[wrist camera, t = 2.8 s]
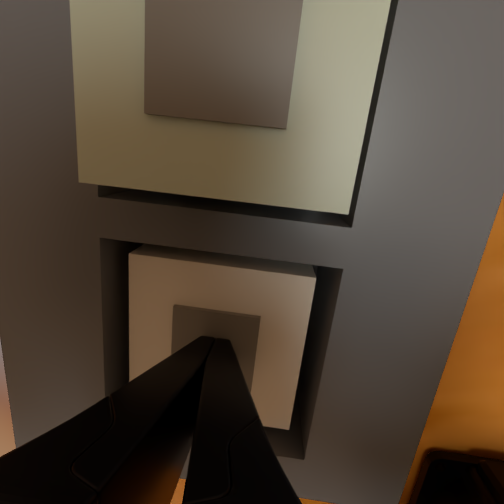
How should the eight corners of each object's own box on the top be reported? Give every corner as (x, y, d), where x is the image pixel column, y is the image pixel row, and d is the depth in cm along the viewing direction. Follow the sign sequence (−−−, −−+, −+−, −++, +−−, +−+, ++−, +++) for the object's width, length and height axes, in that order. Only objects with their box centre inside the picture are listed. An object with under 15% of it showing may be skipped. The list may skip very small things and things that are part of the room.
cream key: (286, 367, 12) (289, 434, 9) (163, 349, 13) (127, 409, 10) (306, 247, 11) (317, 280, 8) (166, 229, 11) (126, 255, 8)
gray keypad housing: (355, 394, 14) (395, 512, 9) (101, 357, 15) (16, 451, 10) (547, -378, 8) (1004, -1288, 3) (73, -394, 8) (-216, -1177, 3)
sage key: (324, 196, 8) (350, 215, 5) (144, 175, 9) (73, 183, 6) (363, -27, 7) (427, -169, 4) (146, -45, 7) (52, -192, 4)
